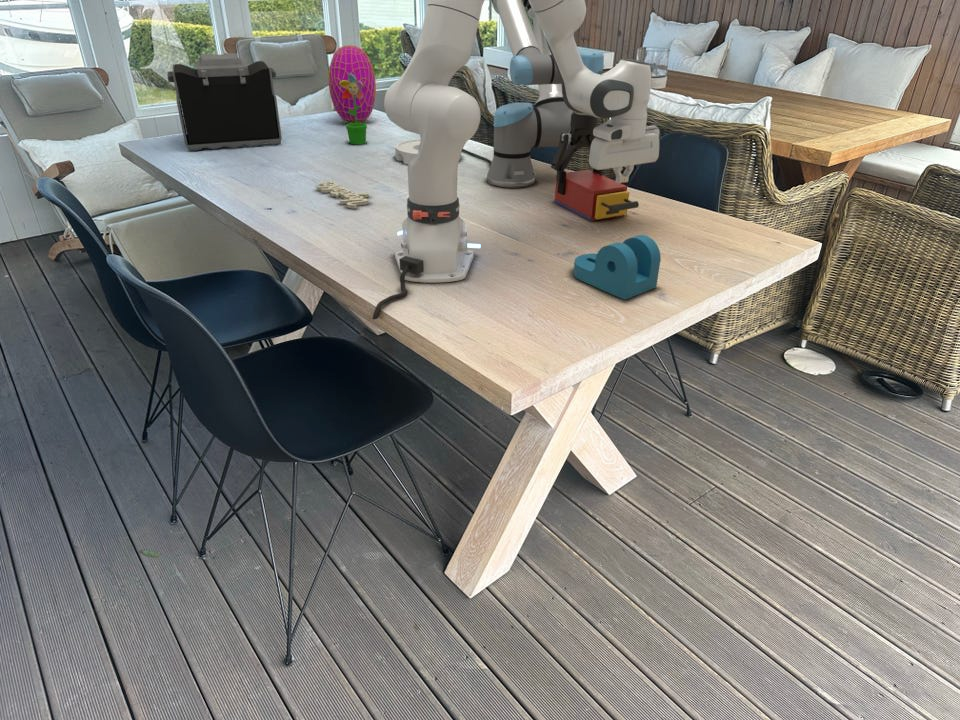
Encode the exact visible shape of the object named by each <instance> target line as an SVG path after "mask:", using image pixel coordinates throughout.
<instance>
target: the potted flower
mask: <svg viewBox="0 0 960 720" xmlns="http://www.w3.org/2000/svg"><path fill="white" fill-rule="evenodd" d="M348 78H349V81H346V80H342V81H341V82H340V83H339V84H340V85H341V86H342V87H343V88H346V89H347V90H345V91H344V93H343V94H342V97H341V99H348V98H350V97H351V96H352V95H353V100H354V110H349V111H348V112H349V114H351V115H355V123H349V122H348V123H347V124H346V125H345V128H346V131H347V136H348V141H349V144H352V145H363V144H366V143H367V129H368V124H367V123H366V122H365V123H364V122H361V123H357V116H356V110H358V109H359V106H356V103H355V95H356V97H357V98H358V99H359V100H362V98H363V93H362V92H361V91H360V90H361V89H363V84H362V82H361V81H358V82H357V83H356V78H355V76H354V75H352V74H350V73H348Z"/></svg>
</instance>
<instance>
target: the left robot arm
mask: <svg viewBox="0 0 960 720" xmlns="http://www.w3.org/2000/svg"><path fill="white" fill-rule="evenodd" d="M484 2H485V0H428V1H427V6H426V10H425V14H424V19H423V23H422V27H421V31H420V35H419V40H418V42H417V45H416V48H415V51H414V53H413V55H412V57H411V59H410V61H409V63H408V65H407V67H406V68H405V70H404V71H403V73H402V74H401V76H400V77H399V78H398V79H397V80H396V81H395V82H393V83H392V84H391V85H389V87H388V88H387V90H386V92H385V95H384V100H383V108H384V112H385V115H386V116H387V119H388V120H389V121H390V122H392V123H393V124H394V125H396V126H398V128H400V129H402V130H404V131H406V132H408V133H411V134H412V133H413V134H416V135H419V137H420V139H421V142H420V148H419V151H418V154H417V156H416V157H414V158H413V159H412V160H411V161H410V162H409V165H408V164H407V184H408V186H407V187H408V198H407V199H406V211H407V213H406V214H407V217H406V218H405V219H404V220H403V221H402V223H401V230H400V231H398V232H397V236H400V235H402V242H401V244H400V247H401V249H400V250H397V251H395V252H394V259H395V262H396V264H397V267H398V269H399V272H400V276H399V284H400V289H401V291H402V292H400V293H396V294H392V295H389V296H388V297H386V298H383V299H382V300H381V301H379V302H378V303H377V304H376V306H375V309H374V312H373V315H372V320H378V318H379V315H380V311H381V309H382V308H383V306H384V305H387V304H388V303H390V302H392V301H395V300H398V299H402V298H404V297H406V295H407V294H408V289H407V288H406V281H408V282H414V283H431V284H433V283H435V284H437V283H451V282H457V281H461V280H464V279H466V277H467V274H468V273H469V269H470V267H471V265H472V262H473V260H474V257H475V251H473V250H471V248H472V249H481V244H480V243H468V242H467V241H466V238H467V236H468V232H467V231H466V221H465V220H464V219H463V218H461V216H460V208H461V207H460V206H461V205H460V198H459V197H458V169H459V163H460V160H459V158H460V155H461V156H462V152H463V151H462V149H464V147H465V145H466V143H468V141H470V139H472V138H473V137H474V136H475V134H476V133H477V131H478V129H479V126H480V124H481V117H482V116H481V108H480V105H479V103H478V101H477V100H476V98H475V97H474V96H472V95H471V94H469V93H467V92H465V91H464V90H462V89H460V88H458V87H455V86H450V85H449V84H450V82H451V80H452V79H453V77H454V75H456V73H457V72H458V71H459V70H460V69H461V68H463V67H464V66H466V65H467V64H468V63H469V61H470V59H471V56H472V52H473V49H474V48H473V47H474V43H475V40H476V35H477V32H478V28H479V24H480V19H481V14H482V10H483V9H482V8H483V6H484ZM529 3H530V5H531V7H532V9H533V11H534V13H535V15H536V18H537V20H538V22H539V24H540V26H541V28H542V30H543V33H544V36H545V39H546V42H547V45H548V47H549V50H550V52H551V55H552V57H553V60H554V62H555V65H556V67H557V70H558V72H559V75H560V78H561V85H562V96H563V100H564V102H565V104H566V105H567V107H568V108H569V109H571V110H573V111H576V112H581V113H585V114H588V115H590V116H594V117H597V118H598V119H603V120H604V119H606V120H607V119H608V120H607V121H605V122H603V123H601V124H600V125H599V124H598V126H597V127H595V128H594V130H593V135H594V136H596V137H595V138H594V139H593V141H592V143H591V148H590V150H589V154H588V155H589V156H588V164H589V166H590V168H592V169H593V168H594V169H596V170H602V169H603V170H608V169H612V170H613V173H614V175H615V181H616V182H617V183H621V184H624V183H628V182H629V181H630V180H629V179H630V176H631V174H632V172H633V171H634V168H635V165H642V164H649V163H656V162H657V161H658V159H659V156H660V129H659V127H658V126H657V125H655V124H652V125H647V120H648V111H647V107H648V103H649V101H650V99H651V98H650V97H651V88H652V72H651V71H652V70H651V66H650V65H649V64H648V63H647V62H645V61H642V60H637V59H631V58H621V59H620V60H619V62H618V63H617V64H616V65H615V66H614V67H612V68H610V69H609V70H608V71H605V72H603V74H602V75H600V74H597V73H594V72H592V71H590V70H589V69H588V68H587V67H586V66H585V65H584V64H583V61H582V59H581V56H580V53H579V51H580V50H579V48H578V45H577V43H576V40H575V32H576V31H578V29H579V28H580V27H581V26H582V25H583V23H584V21H585V18H586V15H587V5H586V1H585V0H529ZM623 167H624V168H625V169H624V171H623ZM621 171H623V173H622V172H621ZM468 248H469V249H468Z"/></svg>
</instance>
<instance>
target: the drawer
mask: <svg viewBox="0 0 960 720" xmlns="http://www.w3.org/2000/svg"><path fill="white" fill-rule="evenodd" d="M639 206H640V204H639V201H637V200H634V201H632V200H630V191H628V190H627V191H623V192H620V191H617V192H611V193H604V194H598V195H597V196H596V206H595V218H596V219H600V220H603V219H602V218H606V219H609V218H608V217H612V218H614V217H613V216H618V217H620V216H619V215H624V216H625V215H627V214H628V210H631V209H637V208H639Z"/></svg>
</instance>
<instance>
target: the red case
mask: <svg viewBox="0 0 960 720" xmlns="http://www.w3.org/2000/svg"><path fill="white" fill-rule="evenodd" d="M555 174H556V175H555V177H556V176H557V173H555ZM554 189H555V190H554V201H553V202H554V203H555V204H557V205H559V206H561V207H563V208H564V209H567V210H569V211H571V212H572V213H574V214H576V215H578V216H580V217H582V218H584V219H586V220H588V221H589V222H593V221H599V220H607V219H612V218H616V217H622V216H625V215H619V216H613V217H608V218H602V219H596V218H595V206H596V196H597V195H598V194H604V193H611V192H617V191H620V192H623V191H628V185H626V184H624V183H617V182H616V180H614V179H611V178H609V177H607V176H604V175H603V174H602V175H600V174H597V173H595V172H593V170H590V169H583V170H576V171H569V172H566V185H565V195H562V194H560V193H558V182H557V181H556V180H555V187H554Z"/></svg>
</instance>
